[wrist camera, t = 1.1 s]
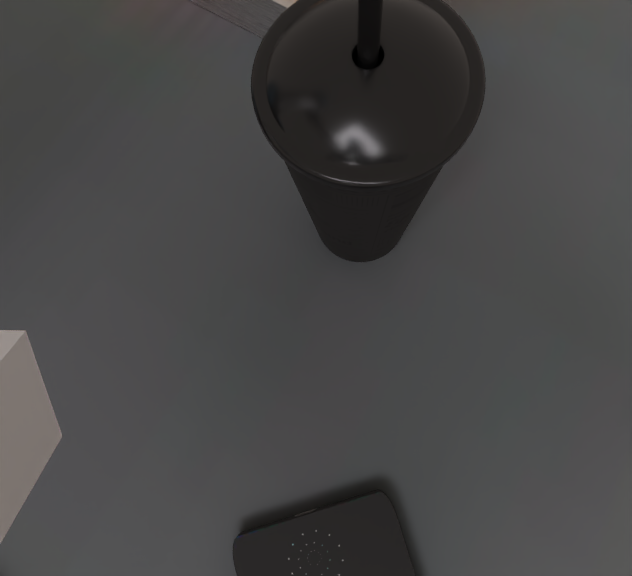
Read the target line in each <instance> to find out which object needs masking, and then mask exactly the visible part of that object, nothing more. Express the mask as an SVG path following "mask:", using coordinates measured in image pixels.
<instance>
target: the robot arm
mask: <svg viewBox="0 0 632 576" xmlns="http://www.w3.org/2000/svg"><path fill="white" fill-rule="evenodd" d="M61 438H62V434H61V431H60V428H59V425H58V422H57V419H56V416H55V413H54V411H53V408H52V405H51V402H50V399H49V396H48V393H47V390H46V388H45V385H44V382H43V379H42V376H41V373H40V370H39V367H38V365H37V362H36V359H35V356H34V353H33V350H32V347H31V344H30V342H29V339H28V336H27V333H26V331H21V330H0V544H1V542H2V540H3V539H4V537H5V535H6V533H7V532H8V530H9V528H10V526H11V525H12V523H13V521H14V519H15V518H16V516H17V514H18V513H19V511H20V509H21V507H22V506H23V504H24V502H25V500H26V499H27V497H28V495H29V493H30V492H31V490H32V488H33V487H34V485H35V483H36V481H37V480H38V478H39V476H40V474H41V473H42V471H43V469H44V467H45V466H46V464H47V462H48V461H49V459H50V457H51V455H52V454H53V452H54V450H55V448H56V447H57V445H58V443H59V441H60V440H61Z"/></svg>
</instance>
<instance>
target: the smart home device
mask: <svg viewBox="0 0 632 576" xmlns="http://www.w3.org/2000/svg"><path fill="white" fill-rule="evenodd" d="M233 559H234V565H235V569H236V573H237V576H416V575H415V572H414V569H413V566H412V563H411V560H410V556H409V553H408V550H407V547H406V544H405V541H404V537H403V534H402V531H401V528H400V525H399V522H398V518H397V515H396V513H395V510H394V508H393V506H392V504H391V502H390V500H389V498H388V497H387V495H386V494H385V493H384V492H383V491H381V490H374V491H371V492H368V493H365V494H362V495H358V496H355V497H352V498H349V499H346V500H343V501H339V502H336V503H333V504H330V505H327V506H323V507H320V508H317V509H316V508H315V509H312V510H309V511H306V512H303V513H299V514H296V515H295V516H292V517H289V518H285V519H282V520H279V521H276V522H273V523H269V524H266V525H263V526H260V527H257V528H254V529H250V530H247V531H244V532H242V533H240V534H239V535H238V536H237V537H236V539H235V541H234V544H233Z"/></svg>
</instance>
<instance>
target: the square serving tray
mask: <svg viewBox="0 0 632 576" xmlns="http://www.w3.org/2000/svg"><path fill="white" fill-rule="evenodd" d="M189 1H191V2H193V3H195V4H197V5H199V6H201V7H203V8H205V9H207V10H209V11H210V12H212V13H214V14H216V15H218V16H220V17H222V18H224V19H226V20H228V21H230V22H232V23H234V24H236V25H238V26H240V27H242V28H244V29H246V30H248V31H250V32H252V33H254V34H255V35H257V36H259V37H261V38H264V36H265V35H266V33H267V31H268V30H269V28H270V27H271V26H272V24H273V23H274V22H275V20H276V19H277V18H278V17H279V16H280V15H281V14H282V13H283V12H284V11H285V10H286V9H287V8H288V7H290V6H291V5H292V4H294V3H295V2H296V1H298V0H189Z"/></svg>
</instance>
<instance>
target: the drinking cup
mask: <svg viewBox="0 0 632 576" xmlns="http://www.w3.org/2000/svg"><path fill="white" fill-rule="evenodd" d="M251 93H252V101H253V106H254V110H255V114H256V117H257V120H258V123H259V125H260V127H261V129H262V132H263V134H264V135H265V137H266V139H267V141H268V142H269V144H270V145H271V146H272V148H273V149H274V150H275V151H276V152H277V154H278V155H279V156H280V157H281V158H282V159H283V160H284V161H285V163H286V165H287V167H288V169H289V171H290V174H291V176H292V178H293V180H294V182H295V184H296V186H297V188H298V191H299V193H300V195H301V197H302V199H303V201H304V203H305V206H306V208H307V210H308V212H309V214H310V216H311V218H312V220H313V223H314V225H315V227H316V229H317V231H318V233H319V235H320V237H321V239H322V241H323V243H324V244H325V245H326V247H327V248H328V249H329V250H330V251H331V252H333V253H334V254H335V255H337V256H339V257H341V258H343V259H346V260H349V261H354V262H367V261H372V260H375V259H378V258H380V257H382V256H384V255H386V254H387V253H388V252H390V251H391V250H392V249H393V248H394V247H395V245H396V244H397V243H398V241H399V240H400V238H401V236H402V235H403V233H404V231H405V229H406V228H407V226H408V224H409V223H410V221H411V219H412V218H413V216H414V214H415V212H416V211H417V209H418V207H419V206H420V204H421V202H422V201H423V199H424V197H425V195H426V194H427V192H428V190H429V189H430V187H431V185H432V184H433V182H434V180H435V178H436V177H437V175H438V173H439V172H440V170H441V168H442V167H443V165H444V164H446V163H447V162H448V161H449V160H450V159H451V158H452V157H453V156H454V155H455V154H456V153H457V152H458V151H459V150H460V149H461V147H462V146H463V145H464V143H465V142H466V140H467V139H468V137H469V136H470V134H471V132H472V130H473V128H474V126H475V124H476V122H477V120H478V117H479V114H480V112H481V109H482V104H483V101H484V94H485V69H484V64H483V59H482V55H481V52H480V49H479V46H478V44H477V42H476V40H475V38H474V36H473V34H472V32H471V31H470V29H469V27H468V26H467V25H466V23H465V22H464V21H463V19H462V18H461V17H460V16H459V15H458V14H457V13H456V12H455V11H454V10H453V9H452V8H451V7H450V6H449V5H447V4H446V3H445V2H443V1H442V0H298V1H296V2H295V3H294V4H292V5H291V6H290V7H288V8H287V9H286V10H285V11H284V12H283V13H282V14H281V15H280V16H279V17H278V18H277V19H276V20H275V22H274V23H273V24H272V26H271V27H270V28H269V30H268V31H267V33H266V35H265V36H264V38H263V40H262V42H261V44H260V46H259V49H258V51H257V54H256V57H255V60H254V64H253V69H252V77H251Z"/></svg>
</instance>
